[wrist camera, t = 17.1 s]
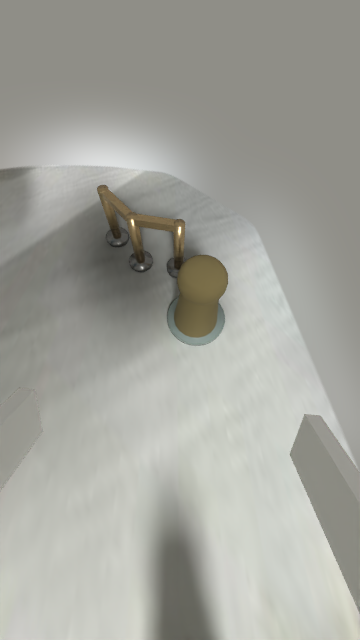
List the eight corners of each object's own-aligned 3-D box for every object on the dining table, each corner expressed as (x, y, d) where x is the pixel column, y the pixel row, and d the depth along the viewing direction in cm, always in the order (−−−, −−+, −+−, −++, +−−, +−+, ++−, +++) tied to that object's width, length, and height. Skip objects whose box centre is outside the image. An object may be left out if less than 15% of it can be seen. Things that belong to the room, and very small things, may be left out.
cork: (167, 307, 33) (163, 256, 23) (205, 292, 34) (217, 238, 24) (184, 344, 31) (188, 306, 21) (224, 328, 32) (247, 284, 22)
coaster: (162, 339, 32) (161, 338, 31) (173, 290, 35) (173, 287, 34) (220, 350, 31) (221, 349, 31) (226, 299, 34) (227, 297, 34)
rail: (96, 264, 36) (73, 218, 28) (110, 228, 39) (93, 177, 31) (187, 279, 36) (191, 236, 27) (195, 242, 39) (201, 193, 30)
